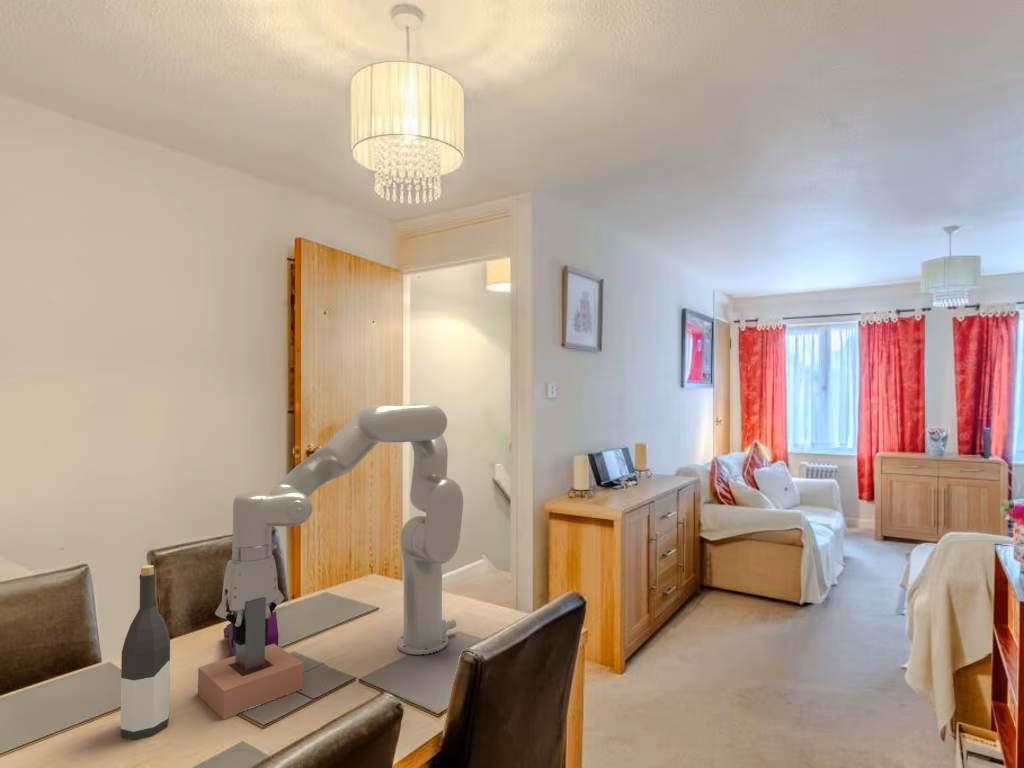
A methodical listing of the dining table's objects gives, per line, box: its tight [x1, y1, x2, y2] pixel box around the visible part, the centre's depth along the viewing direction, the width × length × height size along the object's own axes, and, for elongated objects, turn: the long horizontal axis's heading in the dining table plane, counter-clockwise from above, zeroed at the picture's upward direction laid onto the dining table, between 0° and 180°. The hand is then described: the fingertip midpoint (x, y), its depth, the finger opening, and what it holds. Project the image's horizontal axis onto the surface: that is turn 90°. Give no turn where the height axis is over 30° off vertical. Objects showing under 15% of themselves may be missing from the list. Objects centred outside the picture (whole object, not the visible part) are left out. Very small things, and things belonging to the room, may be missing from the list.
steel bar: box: [235, 598, 266, 672], centre depth 121 cm, size 4×5×14 cm
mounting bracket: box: [223, 611, 279, 657], centre depth 143 cm, size 9×8×18 cm
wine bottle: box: [120, 564, 171, 741], centre depth 108 cm, size 8×8×30 cm
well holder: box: [197, 644, 304, 721], centre depth 121 cm, size 16×14×6 cm
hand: (250, 638), depth 121 cm, fingers closed on steel bar, 4 cm apart
